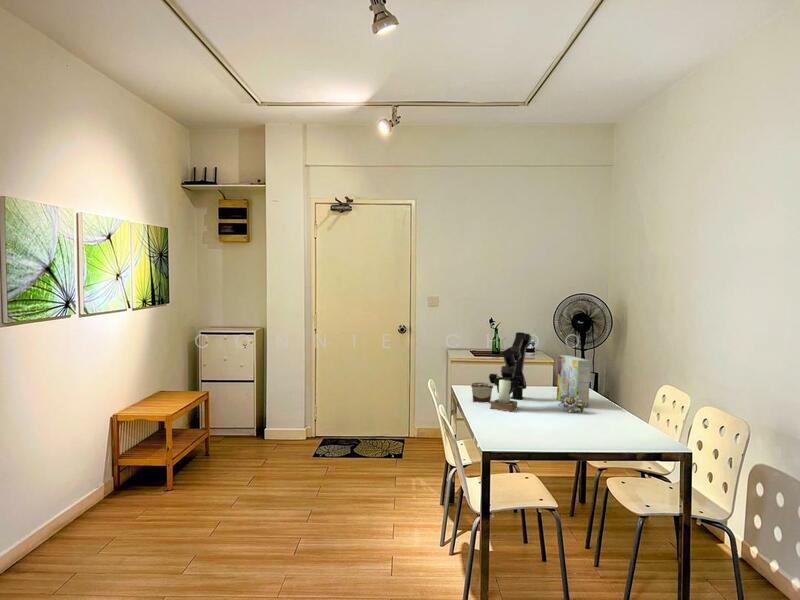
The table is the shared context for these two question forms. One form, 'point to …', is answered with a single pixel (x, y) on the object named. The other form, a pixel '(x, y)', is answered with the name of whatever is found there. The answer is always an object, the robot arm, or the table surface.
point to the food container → (481, 392)
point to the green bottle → (504, 391)
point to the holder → (504, 405)
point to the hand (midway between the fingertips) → (503, 393)
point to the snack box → (574, 378)
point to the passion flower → (570, 402)
